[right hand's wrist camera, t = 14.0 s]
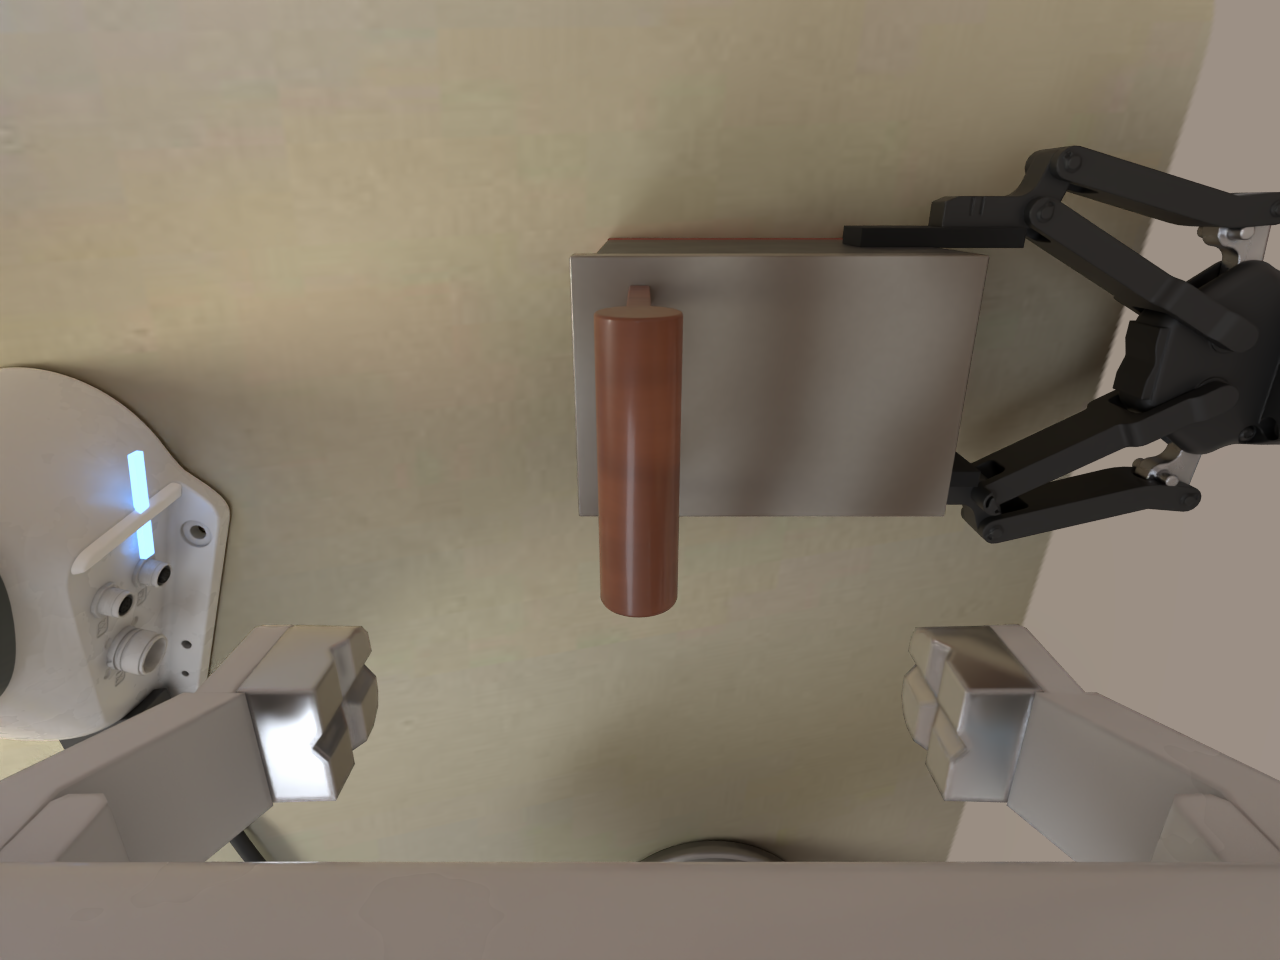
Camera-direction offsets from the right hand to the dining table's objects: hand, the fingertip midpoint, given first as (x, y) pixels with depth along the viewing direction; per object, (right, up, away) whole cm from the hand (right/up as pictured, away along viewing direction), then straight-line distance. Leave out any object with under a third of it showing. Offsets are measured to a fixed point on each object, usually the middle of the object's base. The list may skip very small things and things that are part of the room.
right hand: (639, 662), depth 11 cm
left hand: (+9, +8, +20) cm, 24 cm away
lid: (+5, +6, +16) cm, 18 cm away
